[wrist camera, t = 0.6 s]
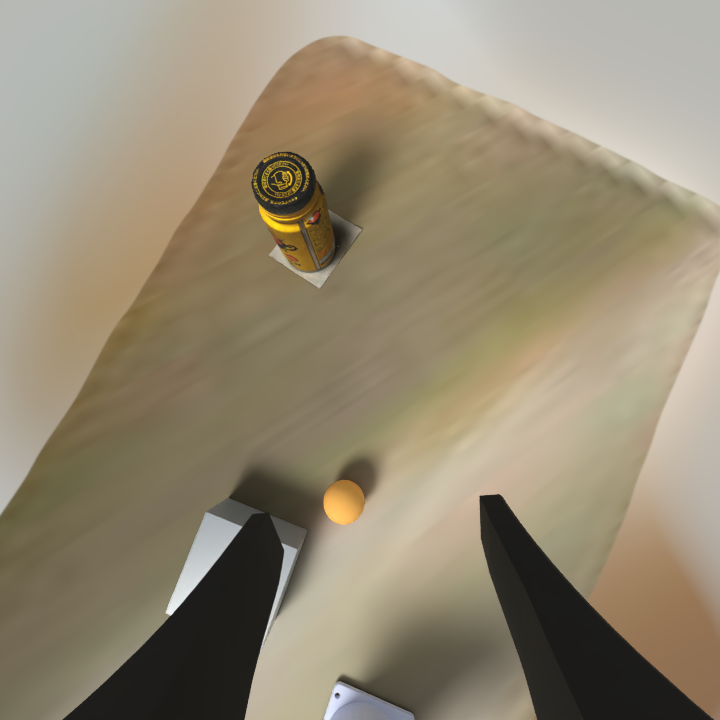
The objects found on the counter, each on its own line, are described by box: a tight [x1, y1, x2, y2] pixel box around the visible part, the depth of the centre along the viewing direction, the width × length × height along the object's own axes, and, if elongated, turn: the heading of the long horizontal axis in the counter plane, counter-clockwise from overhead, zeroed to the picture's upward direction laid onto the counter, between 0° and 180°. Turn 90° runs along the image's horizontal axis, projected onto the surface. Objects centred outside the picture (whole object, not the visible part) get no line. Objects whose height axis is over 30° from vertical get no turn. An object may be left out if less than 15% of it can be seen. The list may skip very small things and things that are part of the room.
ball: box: [324, 480, 365, 524], centre depth 33 cm, size 4×4×4 cm
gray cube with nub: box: [166, 498, 308, 654], centre depth 31 cm, size 9×9×7 cm
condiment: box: [251, 152, 362, 288], centre depth 33 cm, size 7×8×12 cm
